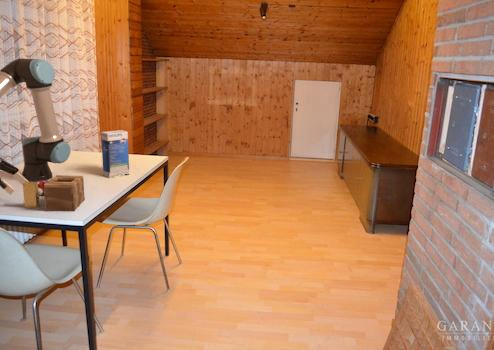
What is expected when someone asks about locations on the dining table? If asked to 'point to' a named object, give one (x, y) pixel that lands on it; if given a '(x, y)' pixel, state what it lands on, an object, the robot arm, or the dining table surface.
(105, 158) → the string lights box
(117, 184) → the dining table surface
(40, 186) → the multicolored rounded segment toy
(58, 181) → the wooden box with opening
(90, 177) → the dining table surface
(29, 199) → the tan rectangular block
